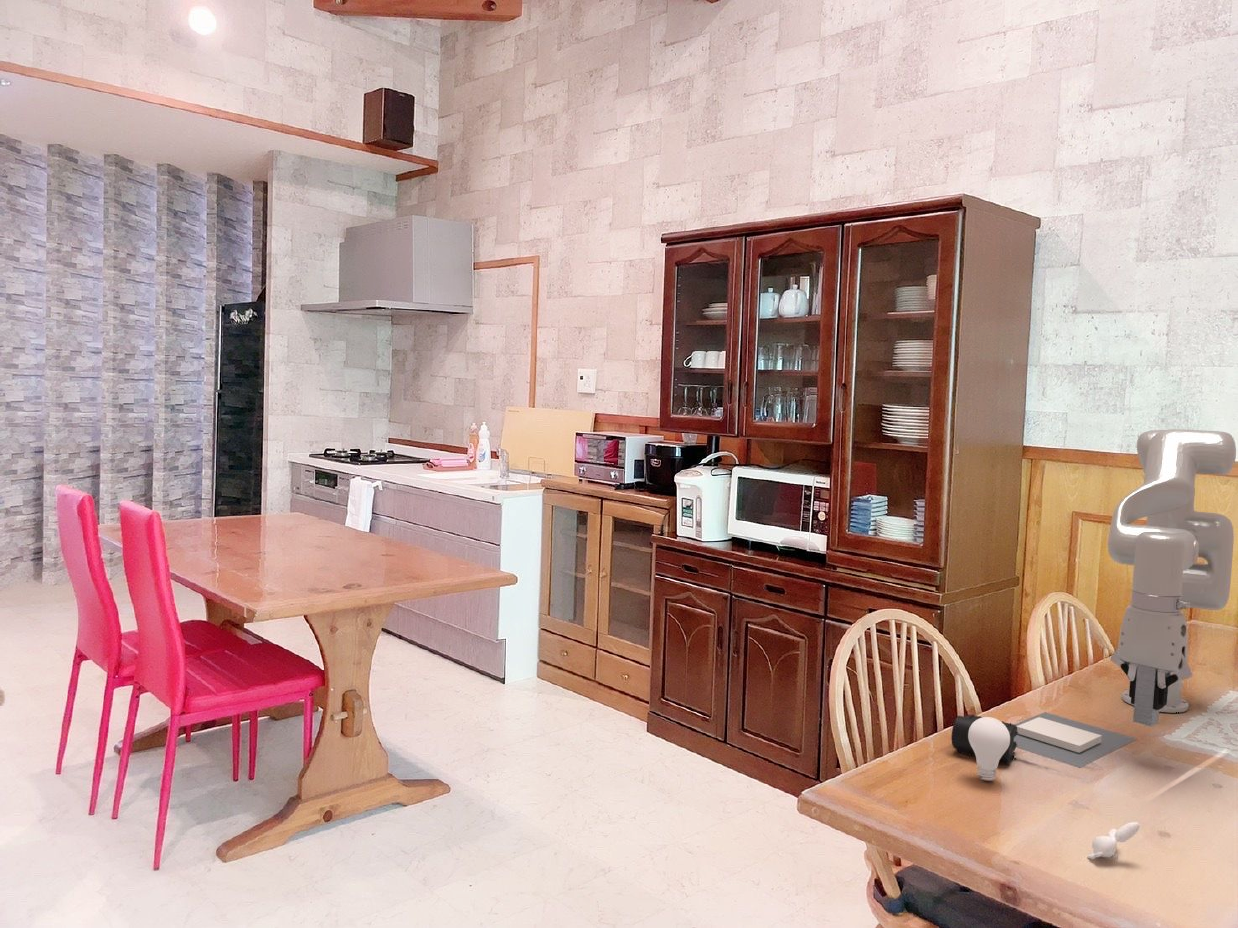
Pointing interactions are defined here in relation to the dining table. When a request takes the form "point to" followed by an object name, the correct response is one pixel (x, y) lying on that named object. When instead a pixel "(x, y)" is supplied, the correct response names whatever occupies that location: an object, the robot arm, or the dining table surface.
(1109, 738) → the mat
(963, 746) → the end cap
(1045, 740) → the tile
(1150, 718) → the metal bar
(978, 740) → the light bulb
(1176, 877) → the dining table surface
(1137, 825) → the rabbit figurine
